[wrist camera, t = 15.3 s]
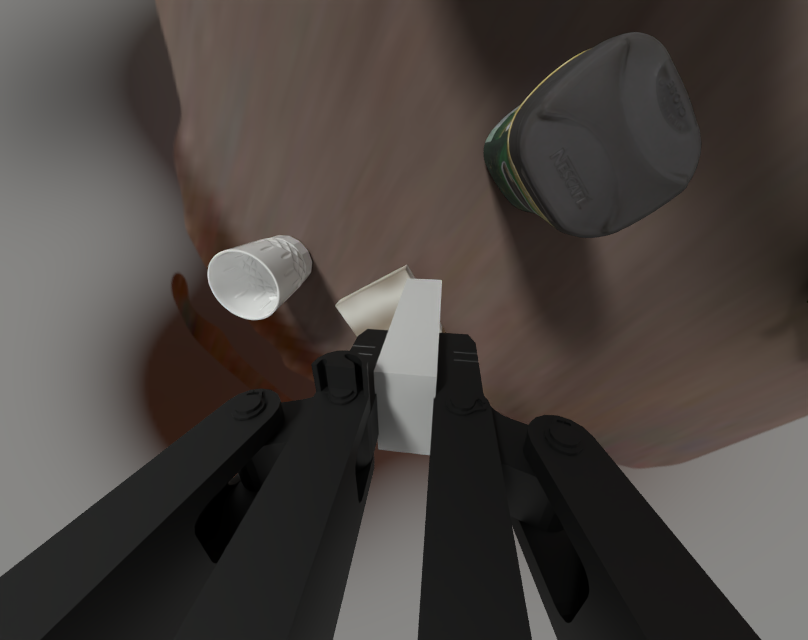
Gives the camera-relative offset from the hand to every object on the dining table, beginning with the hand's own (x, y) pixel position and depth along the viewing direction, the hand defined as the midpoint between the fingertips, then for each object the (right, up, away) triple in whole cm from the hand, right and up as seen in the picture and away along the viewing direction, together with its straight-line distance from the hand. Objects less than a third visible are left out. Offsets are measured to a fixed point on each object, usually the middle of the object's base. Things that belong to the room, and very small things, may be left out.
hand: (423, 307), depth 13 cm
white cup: (-16, +8, +27) cm, 32 cm away
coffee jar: (+12, +17, +18) cm, 27 cm away
